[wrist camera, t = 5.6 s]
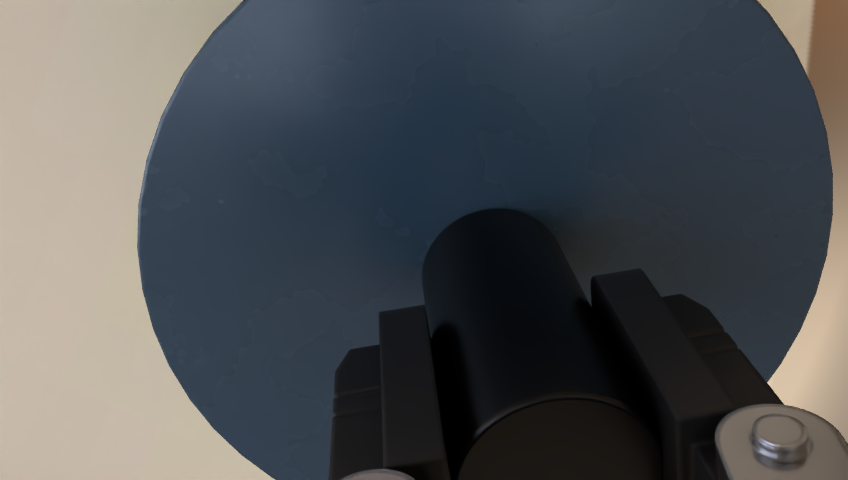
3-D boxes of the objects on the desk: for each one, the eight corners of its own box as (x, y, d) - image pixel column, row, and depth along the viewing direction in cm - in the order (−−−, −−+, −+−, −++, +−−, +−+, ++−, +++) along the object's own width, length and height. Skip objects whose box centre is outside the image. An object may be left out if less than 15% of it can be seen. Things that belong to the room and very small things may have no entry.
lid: (53, -35, 13) (-226, 47, 7) (820, -168, 13) (1232, -204, 7) (246, 534, 18) (187, 864, 12) (787, 443, 18) (999, 729, 12)
